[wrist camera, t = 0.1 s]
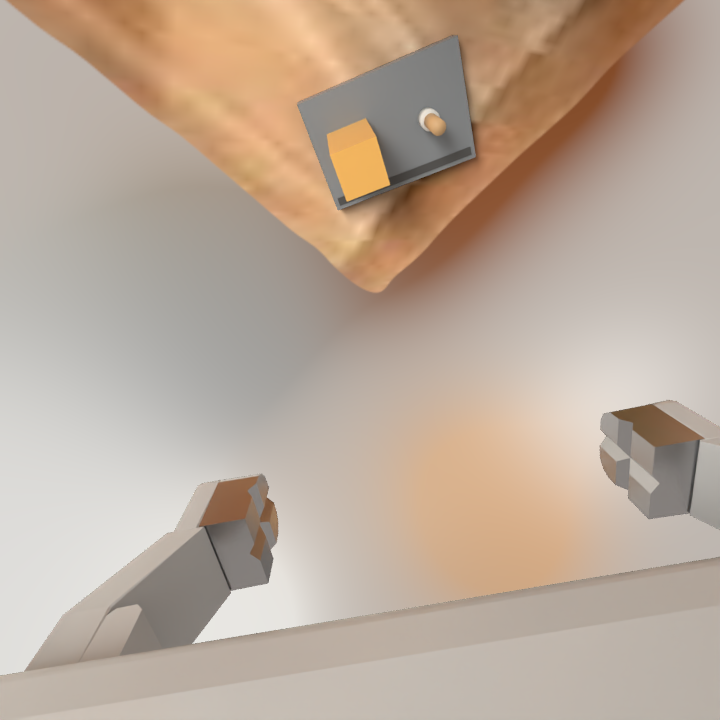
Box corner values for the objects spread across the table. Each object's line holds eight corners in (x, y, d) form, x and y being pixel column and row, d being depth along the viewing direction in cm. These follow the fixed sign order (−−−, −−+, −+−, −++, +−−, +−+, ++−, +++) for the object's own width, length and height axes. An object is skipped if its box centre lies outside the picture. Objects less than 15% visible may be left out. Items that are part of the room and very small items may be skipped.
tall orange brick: (326, 134, 50) (329, 155, 42) (365, 118, 49) (376, 136, 41) (341, 175, 53) (346, 201, 45) (378, 160, 52) (390, 184, 44)
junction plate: (337, 205, 57) (340, 227, 51) (297, 102, 49) (295, 113, 43) (471, 153, 55) (491, 169, 48) (452, 34, 46) (474, 37, 40)
